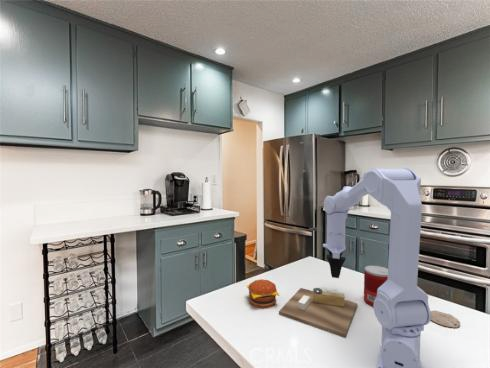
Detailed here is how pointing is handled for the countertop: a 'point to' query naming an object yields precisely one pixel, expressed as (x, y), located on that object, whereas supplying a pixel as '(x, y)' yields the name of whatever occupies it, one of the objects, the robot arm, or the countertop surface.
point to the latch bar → (328, 297)
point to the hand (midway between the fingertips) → (335, 272)
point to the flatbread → (444, 319)
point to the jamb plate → (320, 313)
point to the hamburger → (262, 293)
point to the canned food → (373, 282)
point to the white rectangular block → (304, 302)
